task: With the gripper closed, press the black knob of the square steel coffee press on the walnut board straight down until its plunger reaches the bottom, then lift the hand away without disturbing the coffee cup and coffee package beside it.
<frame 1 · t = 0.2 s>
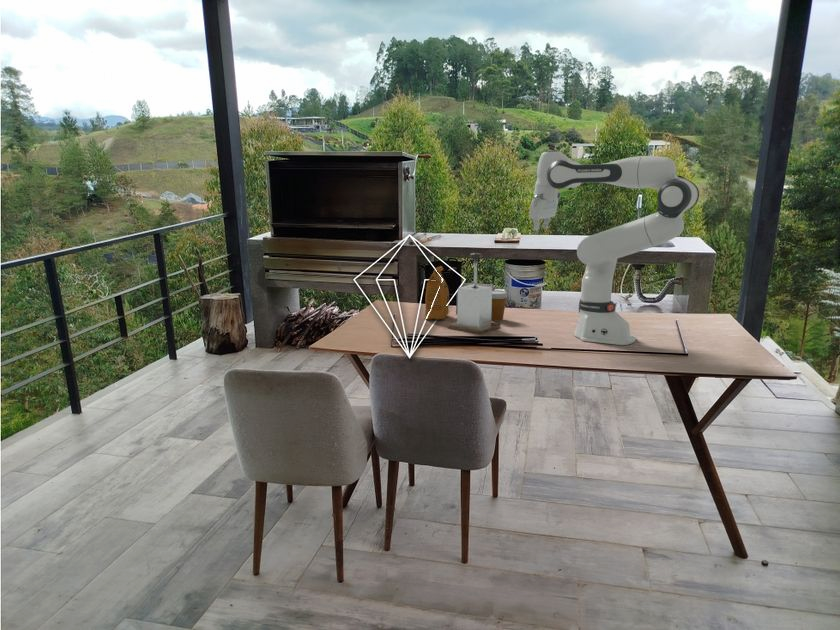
hand: (540, 229, 236), 40 cm above the table, tool pointing down, fingers open, 8 cm apart
disposable coffee cup: (495, 319, 259), on the table
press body: (474, 327, 244), on the table
coffee package: (437, 318, 262), on the table
plunger: (475, 276, 240), point 21 cm above the table, slide at 0.0 cm
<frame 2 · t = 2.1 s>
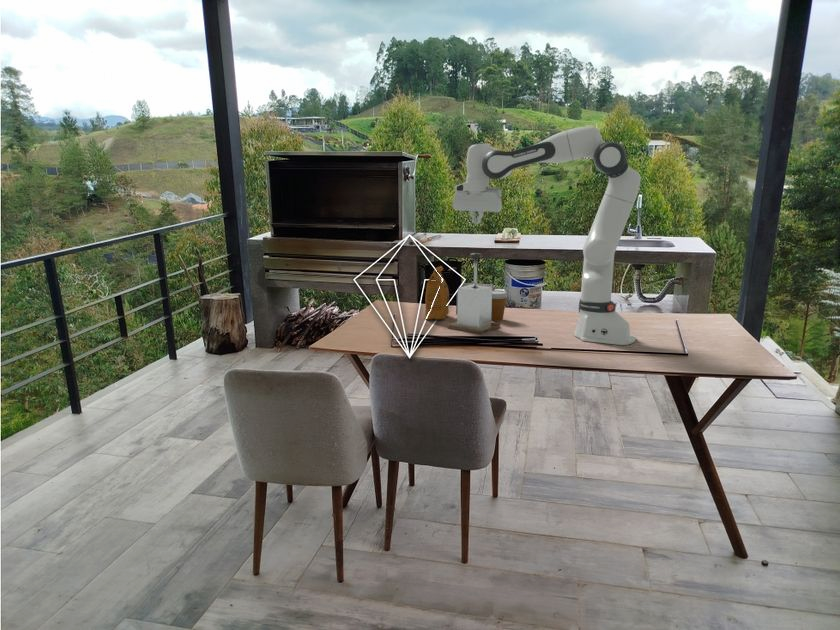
hand: (476, 223, 235), 42 cm above the table, tool pointing down, fingers closed
nothing on the table moved.
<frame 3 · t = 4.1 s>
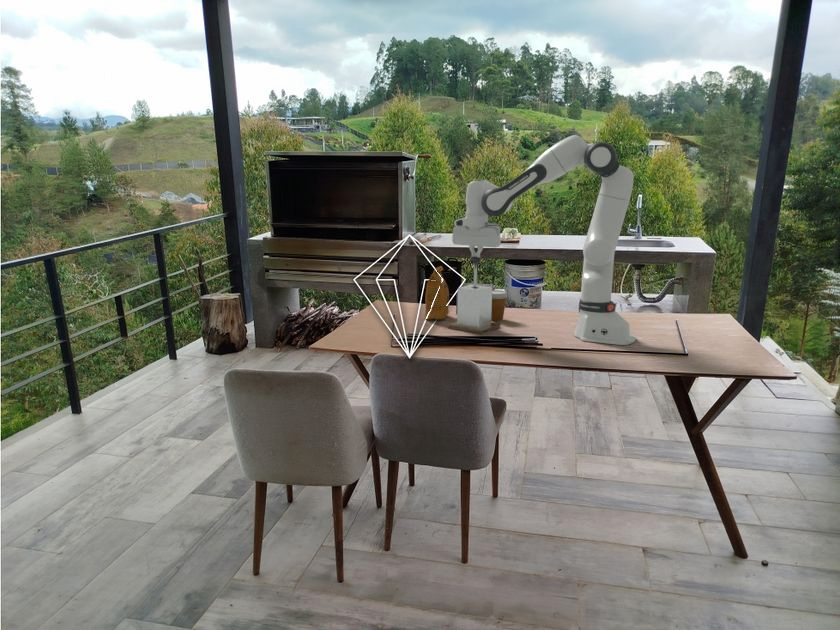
hand: (475, 257, 238), 29 cm above the table, tool pointing down, fingers closed, pressing on plunger
plunger: (475, 280, 240), point 19 cm above the table, slide at 1.5 cm, touching gripper
everything else where it was.
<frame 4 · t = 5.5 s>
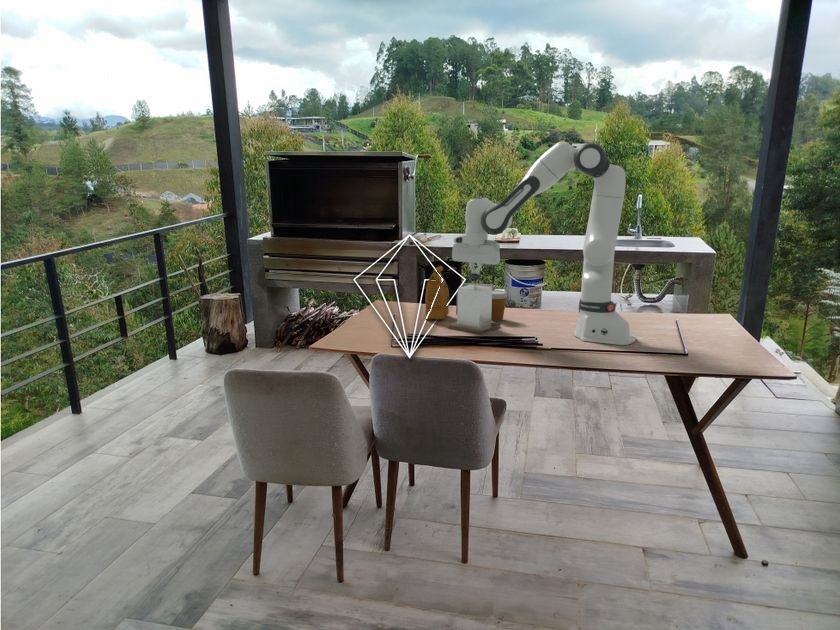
hand: (475, 274, 239), 22 cm above the table, tool pointing down, fingers closed, pressing on plunger
plunger: (474, 296, 241), point 13 cm above the table, slide at 8.1 cm, touching gripper
everything else where it was.
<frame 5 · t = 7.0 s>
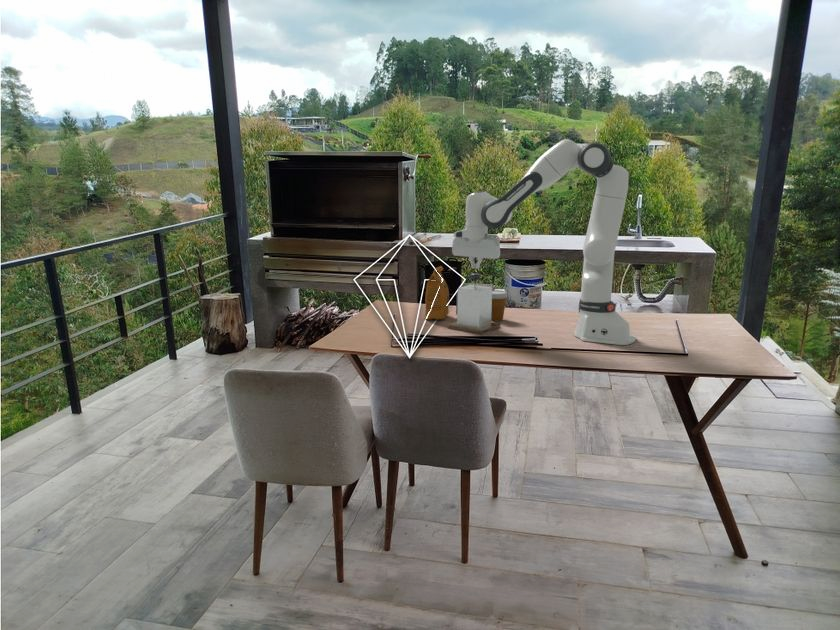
hand: (475, 268, 239), 24 cm above the table, tool pointing down, fingers closed
plunger: (474, 296, 241), point 13 cm above the table, slide at 8.1 cm
everything else where it was.
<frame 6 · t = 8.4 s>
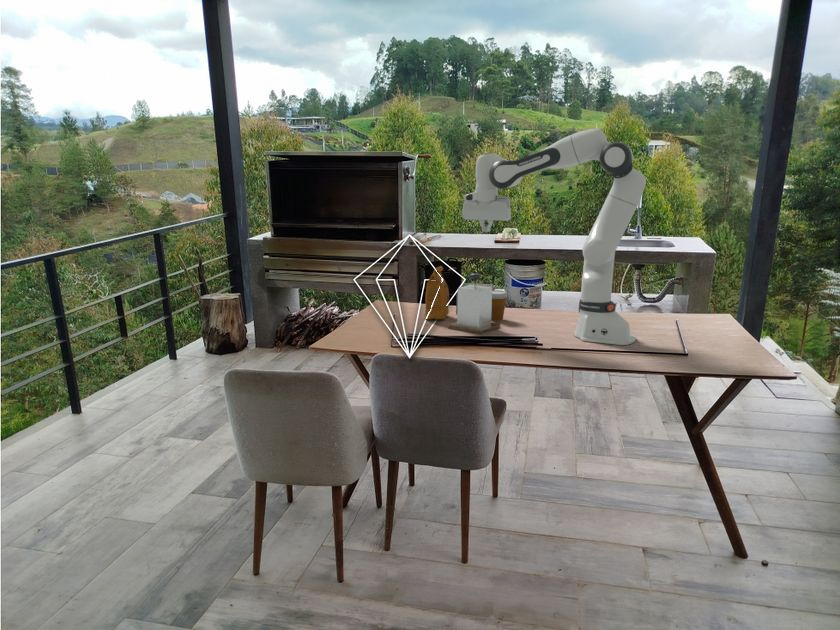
hand: (486, 231, 239), 38 cm above the table, tool pointing down, fingers closed
nothing on the table moved.
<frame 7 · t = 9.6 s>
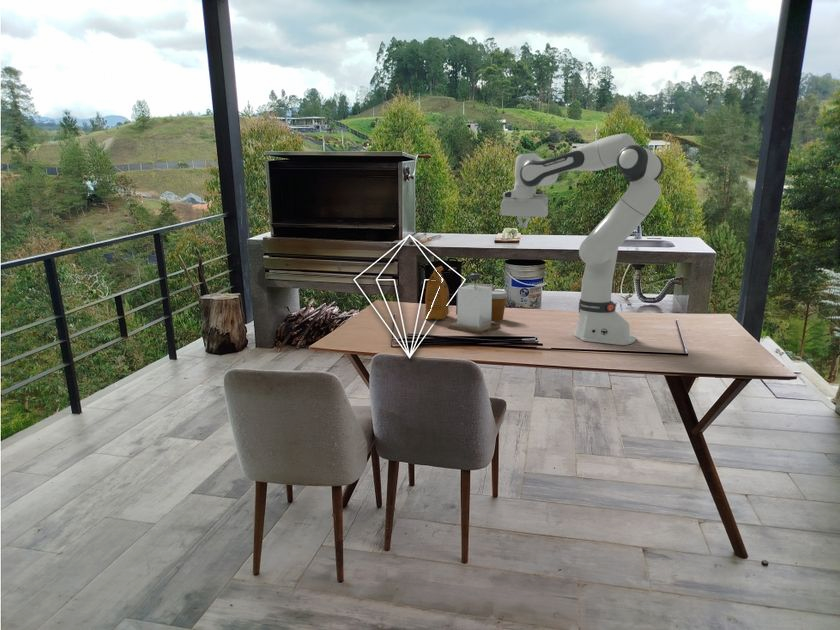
hand: (523, 227, 251), 39 cm above the table, tool pointing down, fingers closed
nothing on the table moved.
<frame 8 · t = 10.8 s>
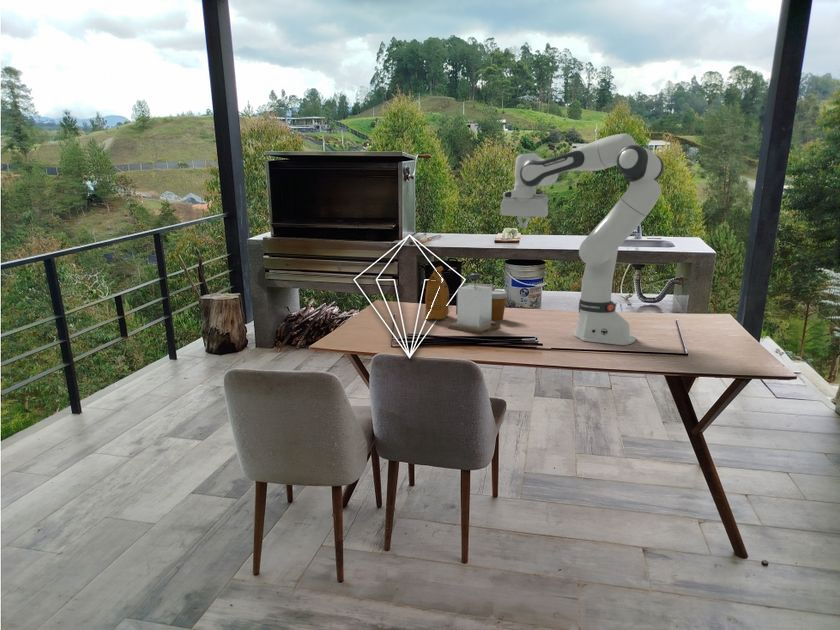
hand: (523, 227, 251), 39 cm above the table, tool pointing down, fingers closed
nothing on the table moved.
at the end: plunger slide at 8.1 cm; disposable coffee cup moved 0.2 cm from its start; coffee package moved 0.2 cm from its start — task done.
